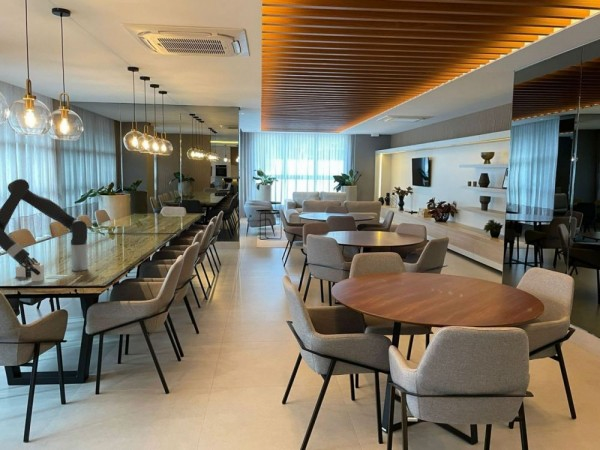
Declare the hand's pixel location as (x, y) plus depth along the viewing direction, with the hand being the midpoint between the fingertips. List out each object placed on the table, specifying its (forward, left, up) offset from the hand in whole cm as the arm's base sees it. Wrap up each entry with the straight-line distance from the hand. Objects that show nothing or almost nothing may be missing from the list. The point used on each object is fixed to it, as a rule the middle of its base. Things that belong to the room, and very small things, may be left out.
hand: (41, 272), depth 272 cm
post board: (-5, +1, -6) cm, 8 cm away
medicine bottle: (-10, -16, -6) cm, 20 cm away
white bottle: (0, -2, -4) cm, 5 cm away
